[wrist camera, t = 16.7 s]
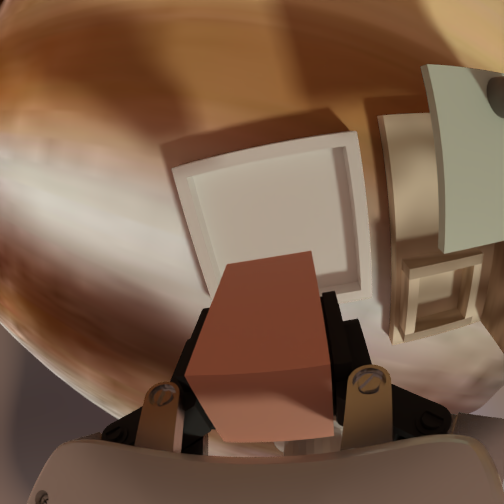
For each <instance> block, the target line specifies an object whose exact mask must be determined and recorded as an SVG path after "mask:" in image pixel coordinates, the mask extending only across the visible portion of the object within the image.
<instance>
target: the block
mask: <svg viewBox="0 0 504 504" xmlns="http://www.w3.org/2000/svg"><path fill="white" fill-rule="evenodd" d="M184 376H185V378H186V380H187V381H188V383H189V385H190V387H191V388H192V390H193V392H194V394H195V395H196V397H197V399H198V401H199V402H200V404H201V406H202V407H203V409H204V411H205V412H206V414H207V416H208V417H209V419H210V420H211V422H212V424H213V425H214V427H215V428H216V430H217V431H218V433H219V435H220V436H221V438H222V439H223V441H224V442H276V441H292V440H304V439H314V438H322V437H330V436H334V422H333V398H332V380H331V366H330V358H329V351H328V344H327V337H326V331H325V324H324V318H323V312H322V306H321V300H320V295H319V289H318V283H317V278H316V273H315V267H314V262H313V257H312V252H311V251H306V252H299V253H293V254H287V255H281V256H275V257H268V258H262V259H256V260H250V261H243V262H237V263H231V264H227V265H226V268H225V270H224V273H223V275H222V278H221V280H220V283H219V285H218V288H217V291H216V293H215V296H214V298H213V301H212V304H211V306H210V309H209V311H208V314H207V317H206V319H205V322H204V324H203V327H202V330H201V332H200V335H199V338H198V340H197V343H196V345H195V348H194V351H193V353H192V356H191V359H190V361H189V364H188V367H187V369H186V372H185V375H184Z"/></svg>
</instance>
